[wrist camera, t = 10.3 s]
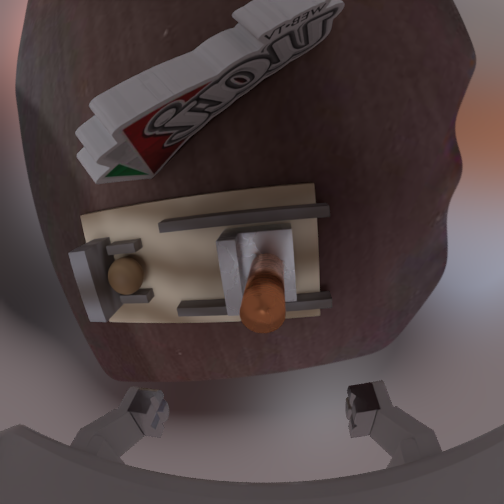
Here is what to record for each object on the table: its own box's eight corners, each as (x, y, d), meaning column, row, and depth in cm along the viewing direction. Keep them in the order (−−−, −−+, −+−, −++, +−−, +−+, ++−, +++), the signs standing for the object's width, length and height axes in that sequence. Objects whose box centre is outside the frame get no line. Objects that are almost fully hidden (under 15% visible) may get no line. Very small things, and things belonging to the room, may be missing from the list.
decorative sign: (304, 32, 24) (335, -52, 9) (320, 49, 24) (365, -30, 10) (136, 161, 28) (46, 156, 13) (151, 179, 28) (66, 187, 14)
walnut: (115, 253, 30) (96, 266, 26) (145, 250, 29) (128, 263, 26) (123, 285, 31) (107, 301, 27) (153, 284, 31) (138, 301, 27)
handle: (224, 228, 28) (196, 268, 18) (290, 222, 27) (298, 260, 17) (234, 294, 30) (215, 357, 20) (295, 290, 29) (302, 353, 19)
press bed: (86, 213, 30) (53, 226, 24) (322, 181, 27) (335, 188, 21) (114, 317, 34) (91, 342, 28) (327, 309, 31) (336, 341, 25)
